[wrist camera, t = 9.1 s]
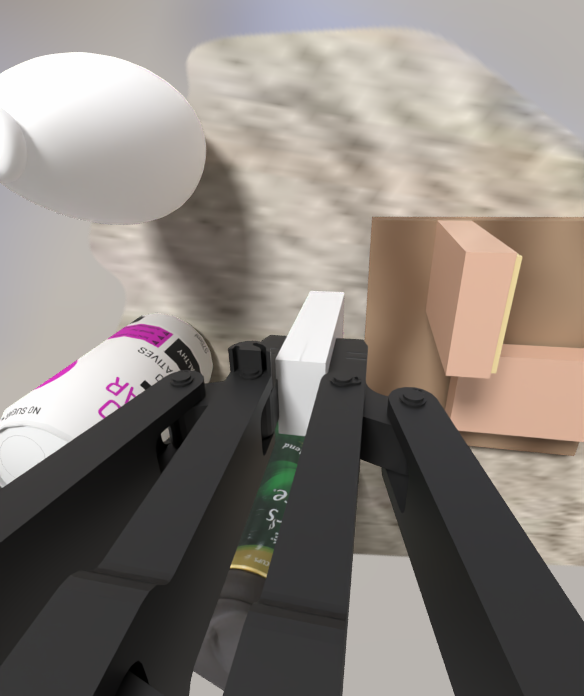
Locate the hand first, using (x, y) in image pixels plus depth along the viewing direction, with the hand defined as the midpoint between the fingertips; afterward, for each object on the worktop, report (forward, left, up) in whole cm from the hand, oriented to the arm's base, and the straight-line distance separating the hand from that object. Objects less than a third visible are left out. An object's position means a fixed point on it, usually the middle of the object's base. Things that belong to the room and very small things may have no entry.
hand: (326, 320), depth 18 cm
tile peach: (+7, 0, -10) cm, 12 cm away
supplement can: (-15, -9, -12) cm, 21 cm away
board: (+10, -6, -12) cm, 16 cm away
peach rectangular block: (+8, -8, -9) cm, 15 cm away
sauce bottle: (-12, +7, -12) cm, 18 cm away
